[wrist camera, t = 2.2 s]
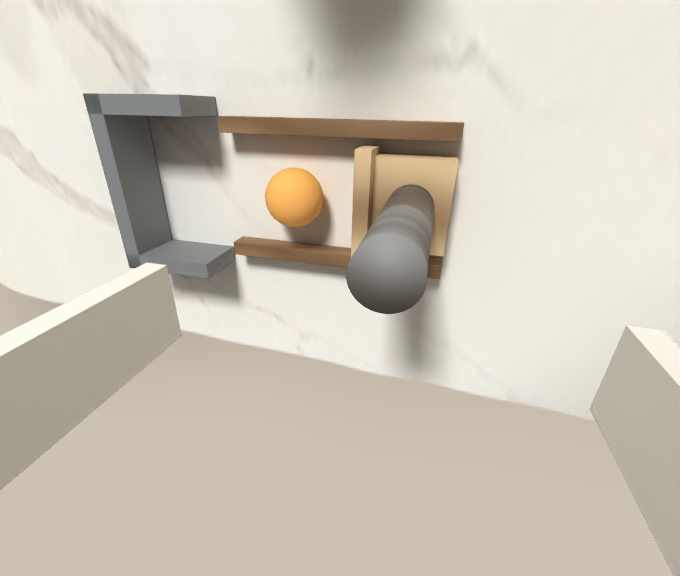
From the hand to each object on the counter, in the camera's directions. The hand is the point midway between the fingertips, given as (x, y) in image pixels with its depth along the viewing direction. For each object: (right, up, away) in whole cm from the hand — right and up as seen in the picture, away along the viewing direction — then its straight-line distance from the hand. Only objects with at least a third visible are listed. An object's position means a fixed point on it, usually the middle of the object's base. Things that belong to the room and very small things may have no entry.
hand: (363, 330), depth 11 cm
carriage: (+4, +7, +14) cm, 17 cm away
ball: (-4, +8, +14) cm, 17 cm away
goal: (-13, +10, +18) cm, 24 cm away
